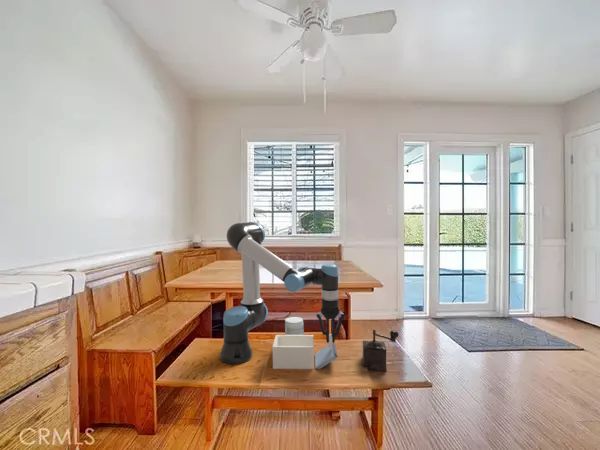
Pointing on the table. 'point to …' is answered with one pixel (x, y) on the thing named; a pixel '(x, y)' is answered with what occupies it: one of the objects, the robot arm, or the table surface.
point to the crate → (293, 352)
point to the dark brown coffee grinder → (376, 352)
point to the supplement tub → (294, 326)
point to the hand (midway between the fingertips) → (330, 349)
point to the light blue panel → (325, 356)
